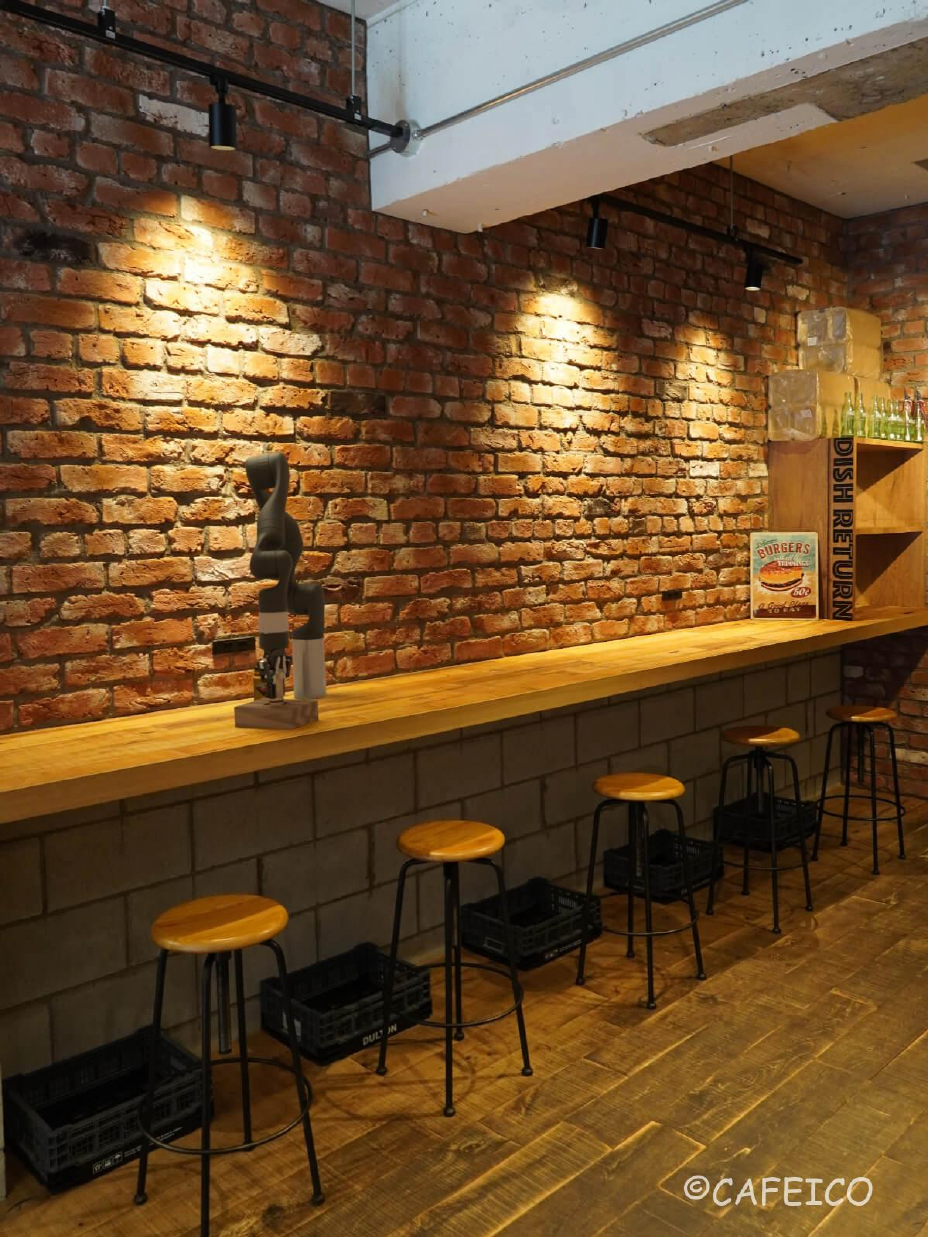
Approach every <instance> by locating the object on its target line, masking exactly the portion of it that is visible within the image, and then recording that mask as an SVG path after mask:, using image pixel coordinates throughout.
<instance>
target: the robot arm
mask: <svg viewBox="0 0 928 1237" xmlns="http://www.w3.org/2000/svg"><path fill="white" fill-rule="evenodd" d="M244 463H245V464H244V469H245V474H246V478H247V481H248V484H249V486H250V490H251V492H252V495H253V496H254V499H255V502H256V505H257V508H258V510H259V514H258V516H257V519H256V541H255V542H256V543H255V544H254V545H255V546H254V548H253V551H252V553H251V556H250V560H249V571H250V574H251V575H252V576H253V578H254V579H255V578H256V579H259V580H267V579H268V580H269V579H273V580H274V579H277V580H278V581H277V583H276V584H275V585H273V586H269V587H267V588H263V589H261V590H259V591H258V596H257V600H258V621H257V622H258V623H257V624H258V625H257V626H258V648H259V649H260V650H262V651H263V655H262V659H261V660H257V662H256V666H257V667H258V671H259V674H260V678H261V682H264V683H266V684H267V696H268V699H275V698H276V697H277V696H276V684H275V683H276V675H278V670H282V674H283V697H284V696H285V695H286V686H285V684H286V683H285V682H286V680H287V679H288V678H290V675H291V668H292V670H293V672H292V675H293V698H295V699H299V700H314V699H319V698H320V699H321V698H325V697H326V696H327V674H326V673H327V672H326V671H327V670H326V669H327V668H326V665H327V664H326V662H325V659H326V658H325V634H324V633H325V612H326V610H325V606H326V599H325V598H326V597H325V590H324V588H323V586H322V584H320V583H316V582H315V583H312V582H311V583H298V582H297V579H296V574H295V572H296V568H297V565H298V563H299V561H300V558H301V557H302V553H303V551H304V541H303V536H302V533H301V530H300V526H299V524H298V522H297V521H296V520H295V518H294V517H293V516H292V515H290V513H288V512H287V511H286V507H287V501H288V494H289V489H290V488H289V487H290V480H291V479H290V478H291V476H290V475H291V474H290V467H289V463H288V459H287V457H286V455H285V454H284V453H282V452H270V453H263V454H258V455H253V456H249V457H248V458H246V459H245V462H244ZM270 489H272V490H273V491H272V493H271V494H270V493H269V491H268V490H270ZM288 613H289V614H290V615H292V616H294V615H295V616H308V620H307V621H306V622H305V623H304V624H302V625H300V626H297V627H294V628H293V629H292V630H291V643H292V644H291V645H292V654H287V652H286V649H288V648H289V647H290V628H289V627H290V625H289V616H288ZM270 670H274V671H270ZM264 675H265V676H264ZM271 675H272V677H271Z"/></svg>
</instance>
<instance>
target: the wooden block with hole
mask: <svg viewBox="0 0 928 1237" xmlns="http://www.w3.org/2000/svg"><path fill="white" fill-rule="evenodd" d="M283 699H284V705H281V706H276V705H269V699H268V698H262V699H259V700H256V701H254V700H253V701H250V702H247V703H243V704H239V705H236V706H234V707H233V709H234V713H233V714H234V727H235V728H254V729H270V730H271V729H273V730H294V729H297V728H300V727H302V726H305V725H308V724H310V723H312V722H315V721H318V720H319V700H318V699H317V700H316V699H299V698H295V699H294V698H283Z"/></svg>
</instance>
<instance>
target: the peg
mask: <svg viewBox="0 0 928 1237" xmlns="http://www.w3.org/2000/svg"><path fill="white" fill-rule="evenodd" d="M270 671H274V670H270ZM271 677H272V675H271ZM275 684H276V696H277V697H276V698H275V699H269V705H276V706H281V705H284V699H285V698H284V696H283V674H282V670H278V675H276V683H275Z"/></svg>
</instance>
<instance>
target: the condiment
mask: <svg viewBox="0 0 928 1237" xmlns="http://www.w3.org/2000/svg"><path fill="white" fill-rule="evenodd" d="M253 671H254V672H253V677H252V678H253V679H252V680H253V683H252V685H253V701H256V700H259V699H262V698H268V696H267V684H266V683H264V682H261V678H260V674H259V671H258V667H257V665H256V666H254V667H253ZM264 676H265V675H264Z"/></svg>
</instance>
